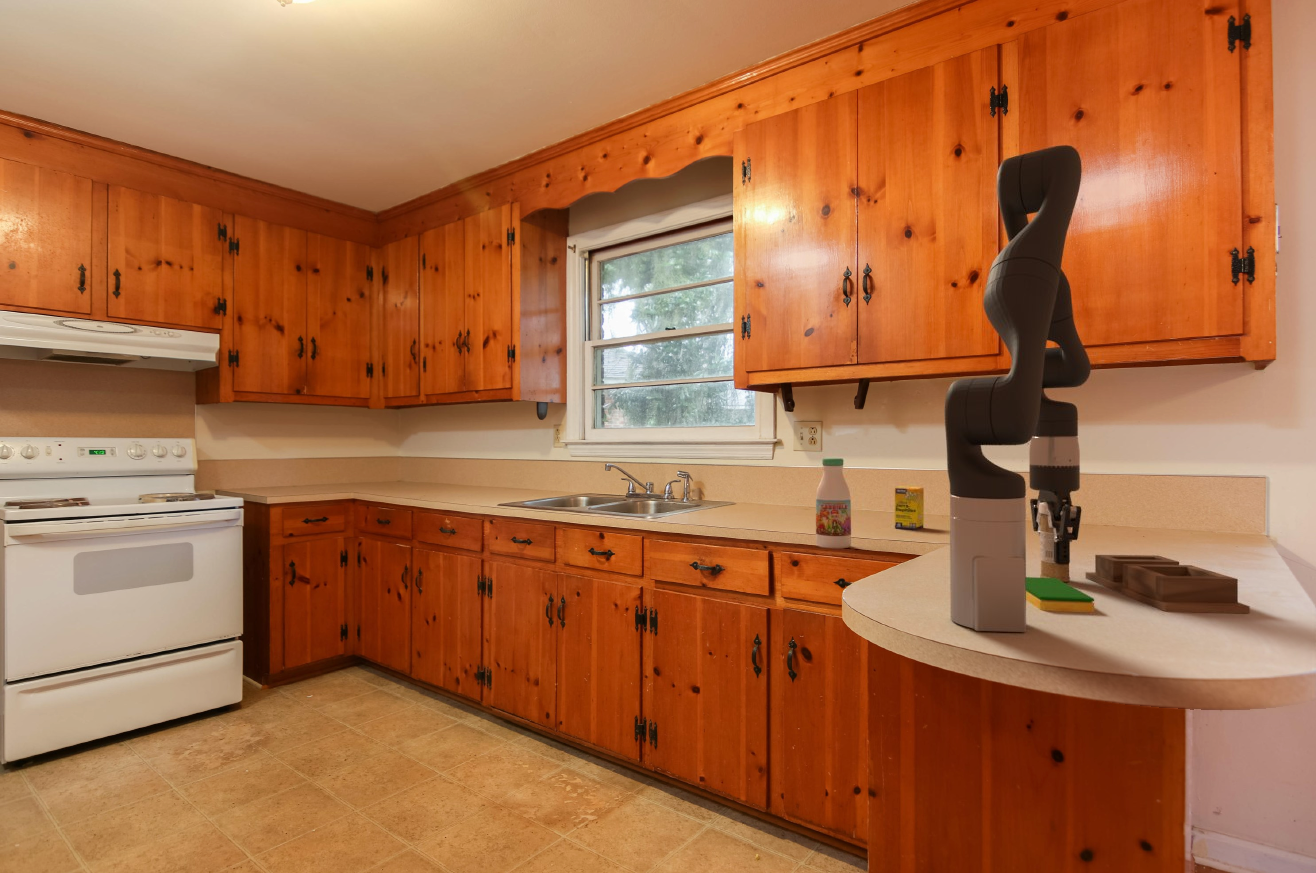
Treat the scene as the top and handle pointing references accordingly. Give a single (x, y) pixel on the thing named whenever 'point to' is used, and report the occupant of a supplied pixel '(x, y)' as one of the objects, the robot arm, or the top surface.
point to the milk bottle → (833, 507)
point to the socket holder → (1168, 584)
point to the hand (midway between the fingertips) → (1054, 560)
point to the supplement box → (909, 507)
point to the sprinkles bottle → (1049, 550)
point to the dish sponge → (1056, 596)
